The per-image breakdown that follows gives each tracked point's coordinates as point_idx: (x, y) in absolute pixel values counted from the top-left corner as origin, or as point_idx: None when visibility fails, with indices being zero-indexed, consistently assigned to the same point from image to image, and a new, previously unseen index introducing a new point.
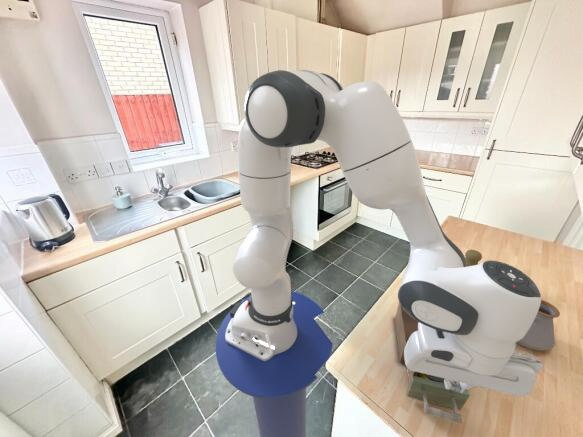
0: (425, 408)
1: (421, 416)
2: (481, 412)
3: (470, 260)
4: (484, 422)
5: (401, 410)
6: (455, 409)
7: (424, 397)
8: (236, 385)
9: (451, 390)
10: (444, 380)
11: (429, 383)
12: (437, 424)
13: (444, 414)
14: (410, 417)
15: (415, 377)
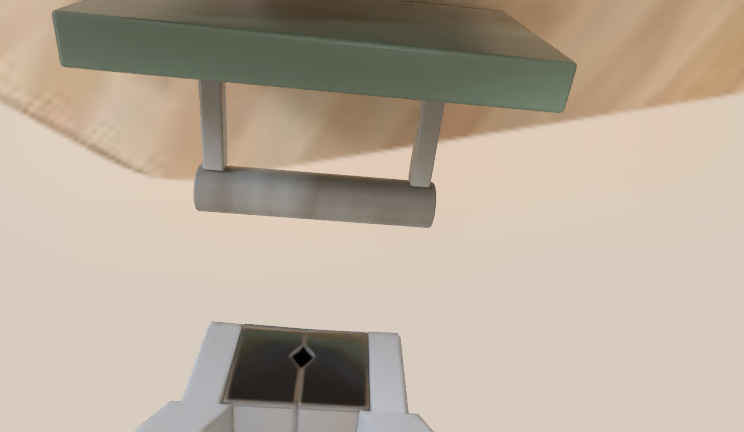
0: (194, 202)
1: (249, 102)
2: (638, 15)
3: None
4: (616, 72)
5: (130, 90)
6: (416, 163)
7: (204, 120)
8: None
9: (414, 97)
10: (207, 339)
11: (219, 67)
12: (333, 128)
13: (321, 215)
14: (183, 118)
15: (82, 26)
